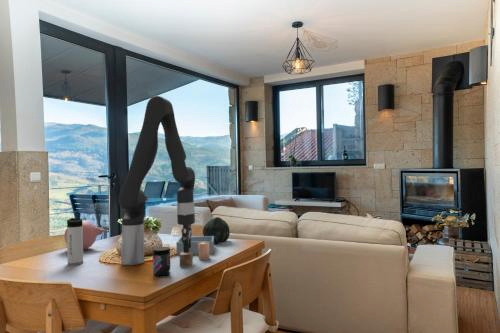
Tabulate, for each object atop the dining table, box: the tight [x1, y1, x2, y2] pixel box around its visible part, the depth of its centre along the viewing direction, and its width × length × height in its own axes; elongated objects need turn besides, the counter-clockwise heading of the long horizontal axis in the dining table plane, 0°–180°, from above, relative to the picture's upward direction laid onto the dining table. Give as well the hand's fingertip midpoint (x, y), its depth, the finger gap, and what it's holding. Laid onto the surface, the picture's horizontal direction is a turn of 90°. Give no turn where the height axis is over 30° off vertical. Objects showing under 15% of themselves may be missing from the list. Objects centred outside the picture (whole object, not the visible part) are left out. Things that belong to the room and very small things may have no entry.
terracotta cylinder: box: [198, 242, 210, 261], centre depth 167 cm, size 5×5×7 cm
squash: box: [202, 216, 231, 244], centre depth 203 cm, size 14×15×15 cm
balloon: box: [64, 219, 107, 251], centre depth 189 cm, size 15×20×15 cm
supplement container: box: [152, 246, 171, 278], centre depth 142 cm, size 7×7×10 cm
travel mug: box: [66, 217, 84, 266], centre depth 161 cm, size 6×7×20 cm
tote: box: [175, 235, 215, 255], centre depth 183 cm, size 18×14×6 cm
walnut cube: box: [179, 252, 194, 268], centre depth 156 cm, size 5×5×5 cm
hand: (187, 250), depth 157 cm, fingers open, 8 cm apart
